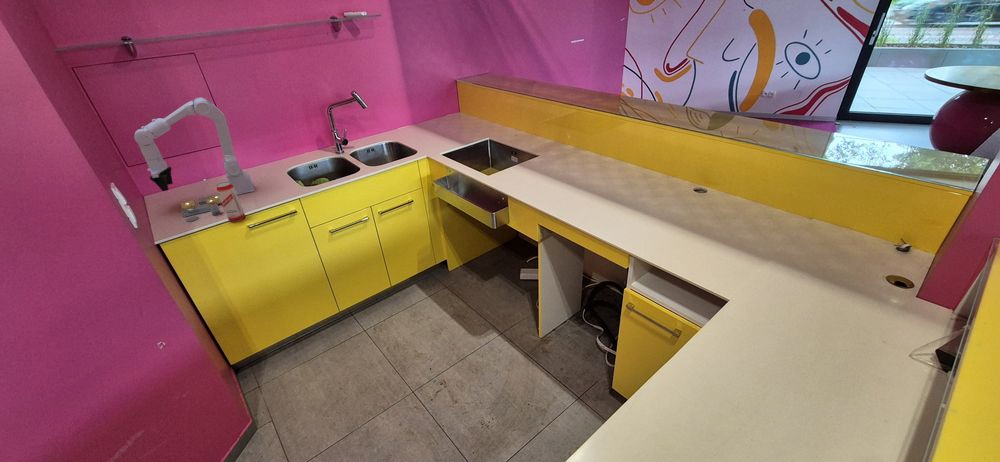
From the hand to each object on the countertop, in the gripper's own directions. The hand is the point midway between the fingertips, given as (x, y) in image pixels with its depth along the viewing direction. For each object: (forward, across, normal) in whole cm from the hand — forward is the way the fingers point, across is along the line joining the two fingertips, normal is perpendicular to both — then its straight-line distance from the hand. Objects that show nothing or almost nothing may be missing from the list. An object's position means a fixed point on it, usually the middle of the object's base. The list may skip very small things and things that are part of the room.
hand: (167, 187), depth 184 cm
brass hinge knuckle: (+10, +9, +9) cm, 16 cm away
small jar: (+10, +16, +18) cm, 26 cm away
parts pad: (+10, +18, +9) cm, 22 cm away
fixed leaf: (+10, +3, +14) cm, 18 cm away
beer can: (+10, +26, +27) cm, 39 cm away
